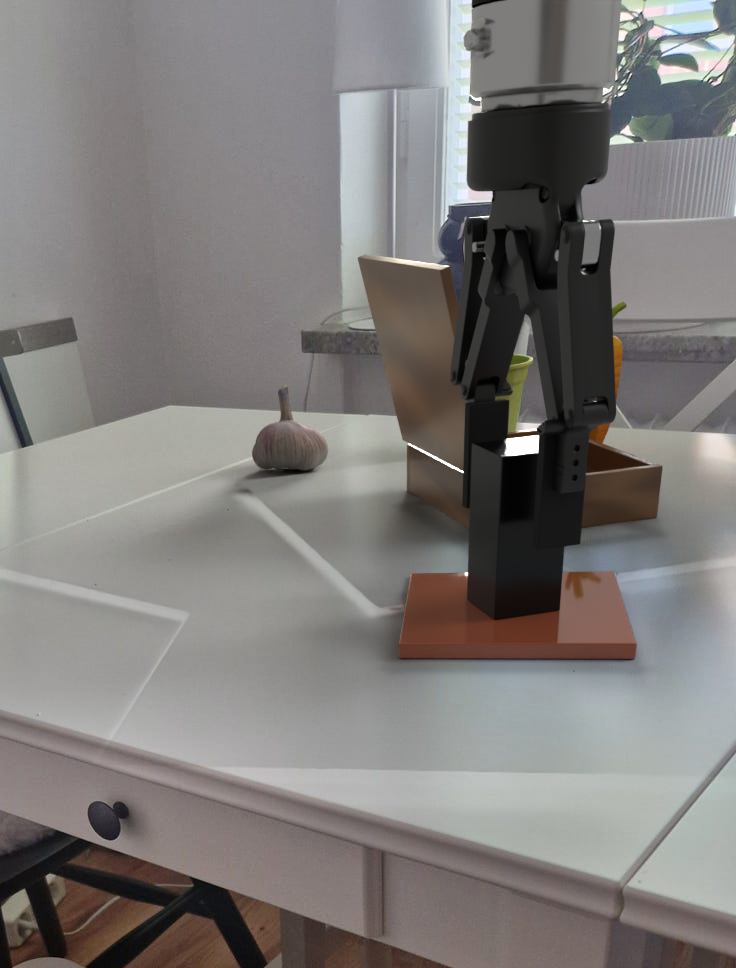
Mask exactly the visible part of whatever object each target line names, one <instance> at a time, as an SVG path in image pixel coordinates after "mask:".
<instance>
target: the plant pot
mask: <svg viewBox="0 0 736 968" xmlns="http://www.w3.org/2000/svg"><path fill="white" fill-rule="evenodd" d="M533 363H534V357H532V356H531V355H524V354H518V353H514V354H513V358H512V361H511V365H510V368H509V371H508V375H507V378H506V379H507V382H508V383H509V384H510V386H511V388H512V389H511V390H513V393H512V394H511V395H508V396H499V397H495V400H497V399H507V400H509V422H508V432H514V431H517V425H518V424H517V423H518V418H519V411H520V408H521V406H520V405H521V401H522V396H523V389H524V383H525V381H526V379H527V377H528V374H529V373H528V372H529V367H530V366H531V365H532V364H533ZM509 391H510V390H509Z"/></svg>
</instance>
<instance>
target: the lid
mask: <svg viewBox="0 0 736 968" xmlns="http://www.w3.org/2000/svg"><path fill="white" fill-rule="evenodd" d="M357 262H358V266H359V271H360V274H361V277H362V282H363V286H364V290H365V295H366V299H367V302H368V306H369V310H370V313H371V314H370V315H371V318H372V323H373V327H374V330H375V334H376V338H377V342H378V348H379V351H380V355H381V358H382V359H381V360H382V363H383V366H384V370H385V374H386V379H387V383H388V387H389V391H390V394H391V399H392V403H393V406H394V411H395V415H396V419H397V423H398V427H399V430H400V435H401V439H402V441H403V442H406V443H407V444H411V445H413V446H415V447H417V448H419V449H421V450H423V451H425V452H427V453H429V454H431V455H432V456H434V457H436V458H438V459H440V460H442V461H444V462H446V463H448V464H450V465H452V466H454V467H456V468H458V469H459V470H461V471H463V463H464V428H465V403H467V400H463V399H462V396H461V389H460V385H455V386H453V385H452V383H451V381H450V369H451V361H452V353H453V346H454V338H455V330H456V322H457V314H458V306H459V299H458V296H457V292H456V291H457V290H456V287H455V282H454V277H453V272H452V267H451V266H450V265H444V264H438V263H430V262H422V261H415V260H410V259H402V258H395V257H388V256H380V255H374V254H367V253H366V254H362V255H360V256H358V257H357ZM466 363H467V360H466ZM466 363H465V365H466Z"/></svg>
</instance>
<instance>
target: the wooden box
mask: <svg viewBox="0 0 736 968" xmlns="http://www.w3.org/2000/svg"><path fill="white" fill-rule="evenodd" d="M537 435H538V433H537V430H536V428H530V429H524V430H515V431H514V432H508V439H512V438H521V437H529V436H537ZM538 436H539V435H538ZM662 475H663V465H661V464H659V463H656V462H653V461H651V460H648V459H646V458H643V457H641V456H638V455H635V454H632V453H629V452H626V451H624V450H621V449H618V448H615V447H613V446H610V445H608V444H606V443H600V442H597V441H594V440H592V439H589V444H588V457H587V469H586V481H585V493H584V505H583V518H582V529H588V528H594V527H603V526H609V525H616V524H625V523H631V522H632V523H633V522H639V521H645V520H647V521H648V520H654V519H657V518H658V510H659V503H660V494H661V493H660V492H661V485H662ZM406 492H407V493H410V494H411V495H412V496H414V497H416V498H417V499H419V500H421V501H422V502H424V503H426V504H427V505H428V506H430V507H432V508H434V509H435V510H437V511H438V512H439V513H442V514H443V515H445V516H447V517H448V518H449V519H451V520H453V521H454V522H456V523H458V524H460V525H461V526H463V527H464V528H466V529H468V530H469V518H470V508H465V507H463V506H462V499H463V471H461V470H459V469H458V468H456V467H454V466H452V465H450V464H448V463H446V462H444V461H442V460H440V459H438V458H436V457H434V456H432V455H431V454H429V453H427V452H425V451H423V450H421V449H419V448H417V447H415V446H413V445H411V444H409V443H407V444H406Z"/></svg>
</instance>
